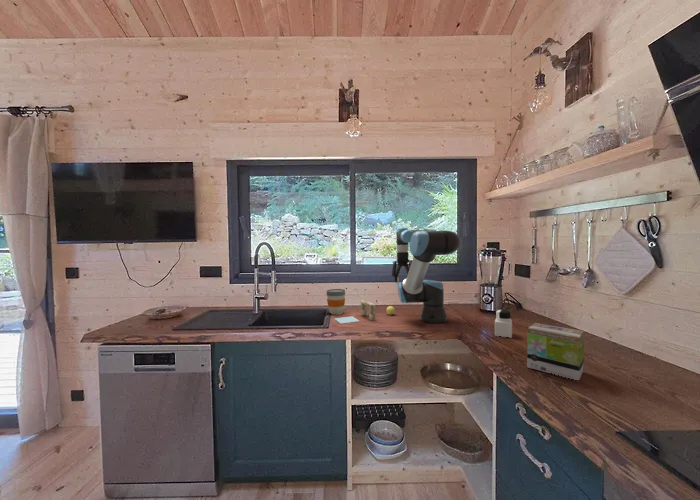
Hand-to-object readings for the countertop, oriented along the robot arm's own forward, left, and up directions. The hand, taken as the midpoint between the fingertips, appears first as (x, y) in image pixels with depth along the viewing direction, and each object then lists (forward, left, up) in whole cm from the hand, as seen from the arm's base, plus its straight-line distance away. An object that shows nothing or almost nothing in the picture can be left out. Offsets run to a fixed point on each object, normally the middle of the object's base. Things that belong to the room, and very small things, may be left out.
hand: (403, 286), depth 185 cm
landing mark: (0, +40, -17) cm, 43 cm away
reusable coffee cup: (+20, +40, -17) cm, 48 cm away
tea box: (-93, -4, -18) cm, 95 cm away
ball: (0, +10, -14) cm, 17 cm away
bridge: (0, +26, -17) cm, 31 cm away
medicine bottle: (-58, -20, -17) cm, 64 cm away
